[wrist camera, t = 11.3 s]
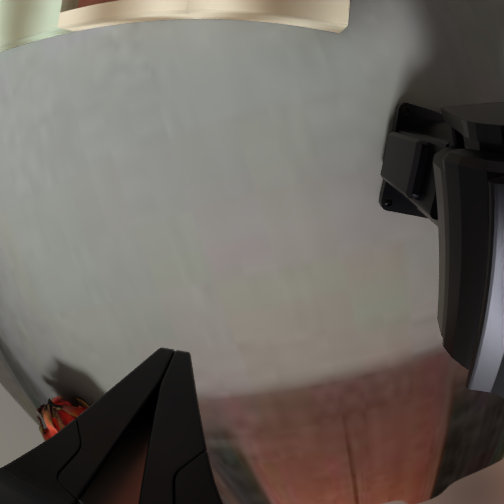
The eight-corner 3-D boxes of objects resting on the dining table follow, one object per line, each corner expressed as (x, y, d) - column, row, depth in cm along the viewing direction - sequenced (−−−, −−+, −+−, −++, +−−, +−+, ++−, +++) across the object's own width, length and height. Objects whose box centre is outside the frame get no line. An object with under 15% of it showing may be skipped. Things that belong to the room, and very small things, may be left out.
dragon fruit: (101, 431, 35) (74, 364, 32) (135, 469, 30) (107, 403, 26) (52, 456, 29) (14, 389, 25) (80, 500, 24) (36, 437, 20)
